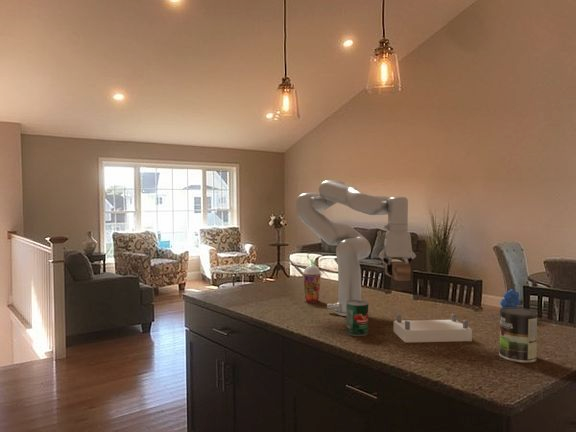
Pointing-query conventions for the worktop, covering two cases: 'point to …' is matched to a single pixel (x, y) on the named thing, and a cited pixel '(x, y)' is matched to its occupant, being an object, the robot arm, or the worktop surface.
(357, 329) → the canned tomato
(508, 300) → the grapes
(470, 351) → the worktop surface
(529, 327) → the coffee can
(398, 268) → the brown wooden block
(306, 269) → the smoothie
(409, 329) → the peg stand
